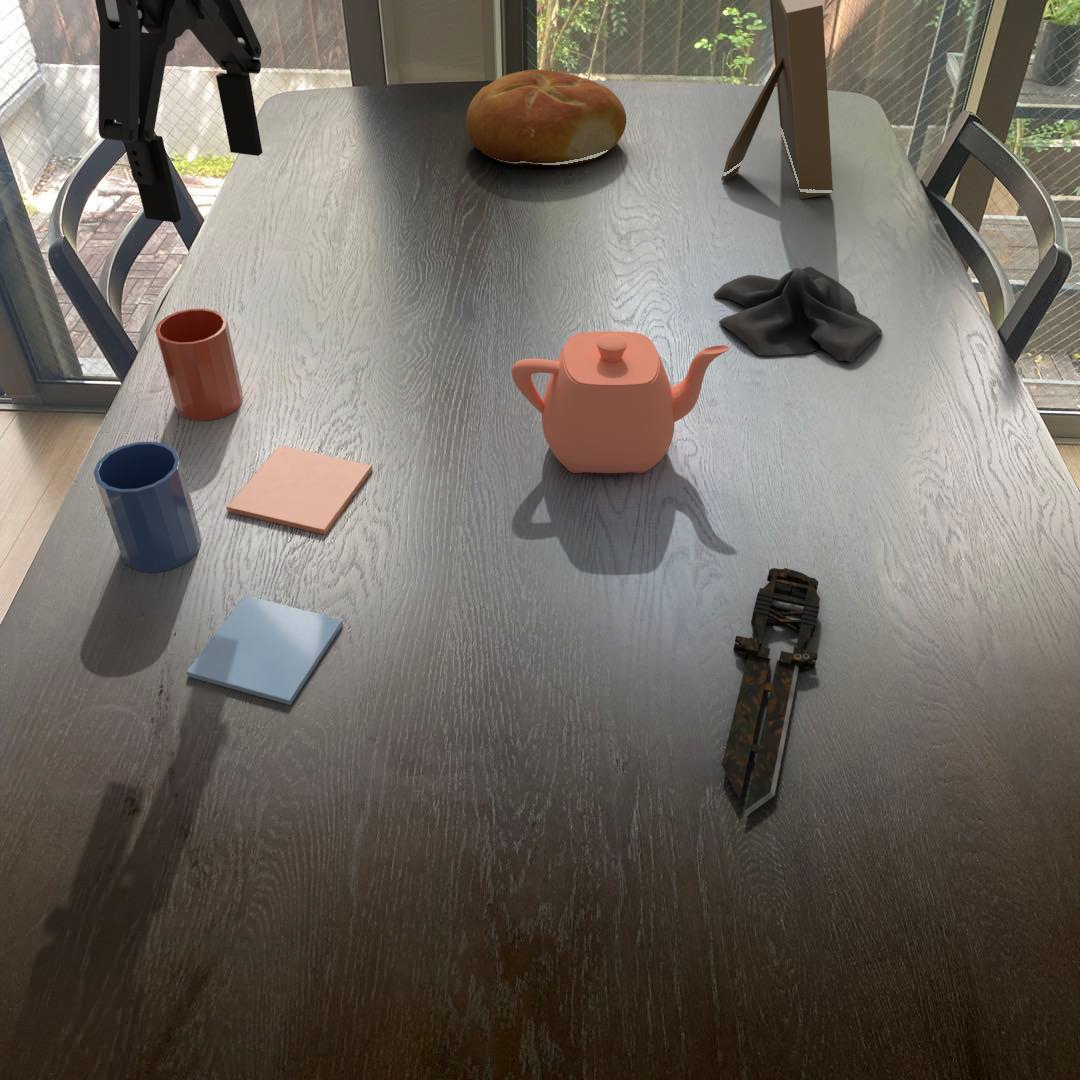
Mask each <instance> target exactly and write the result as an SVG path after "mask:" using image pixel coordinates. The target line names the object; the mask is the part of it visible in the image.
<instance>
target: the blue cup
mask: <svg viewBox="0 0 1080 1080" xmlns="http://www.w3.org/2000/svg"><path fill="white" fill-rule="evenodd" d="M93 476H94V480H95V483H96V485H97V488H98V493H99V494H100V497H101V500H102V503H103V506H104V509H105V512H106V515H107V517H108V521H109V524H110V526H111V529H112V532H113V535H114V538H115V540H116V544H117V547H118V549H119V553H120V555H121V558H122V560H123V562H124V563H125V564H126V565H127V566H128V567H129V568H131V569H133V570H135V571H139V572H143V573H160V572H161V573H162V572H167V571H170V570H174V569H176V568H178V567H180V566H182V565H184V564H186V563H187V562H189V561H190V560H191V559H192V558H193V557H194V556H196V554H197V553H198V551H199V549H200V547H201V544H202V536H201V531H200V527H199V524H198V520H197V516H196V513H195V509H194V506H193V502H192V498H191V494H190V491H189V487H188V484H187V483H188V482H187V480H186V476H185V473H184V469H183V465H182V462H181V458H180V456H179V454H178V451H177V450H176V449H175V448H173V447H172V446H170V445H169V444H166V443H163V442H158V441H153V440H151V441H135V442H132V443H129V444H123V445H120V446H119V447H117V448H114V449H113V450H111V451H109V452H107V453H106V454H105V455H104V456H103V457H102V458H100V459H99V460H98V462H96V465H95V468H94V470H93Z"/></svg>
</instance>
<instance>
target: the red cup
mask: <svg viewBox="0 0 1080 1080" xmlns="http://www.w3.org/2000/svg"><path fill="white" fill-rule="evenodd" d="M154 333H155V336H156V340H157V343H158V347H159V351H160V355H161V358H162V362H163V367H164V370H165V374H166V377H167V380H168V385H169V389H170V392H171V393H170V394H171V396H172V400H173V403H174V404H175V405H174V406H175V410H176V411H177V413H178V414H179V415H180V416H182V417H183V418H186V419H187V420H188V419H189V420H191V421H200V422H203V421H214V420H218V419H221V418H224V417H226V416H229V415H231V414H232V413H234V412H235V411H236V410H238V409H239V408H240V406H241V404H242V403H243V401H244V399H243V398H244V395H243V388H242V383H241V379H240V374H239V369H238V365H237V360H236V356H235V350H234V347H233V342H232V337H231V332H230V328H229V322H228V320H227V318H226V316H225V315H224V314H222V313H221V312H219V311H217V310H214V309H210V308H188V309H184V310H180V311H175V312H173V313H171V314H168V315H167V316H164V317H163V318H162V319H161V320H160V321H159V322H158V323H157V324H156V327H155V330H154Z"/></svg>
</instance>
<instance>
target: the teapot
mask: <svg viewBox="0 0 1080 1080" xmlns="http://www.w3.org/2000/svg"><path fill="white" fill-rule="evenodd" d="M729 350H730V346H728V345H714V346H708V347H706V348H704V349H702V350H700V351H698V353H696V355H695V356H694V357H693V358H692V360H691V362H690V364H689V368H688V370H687V373H686V375H685V377H684V378H683V380H681V381H680V382H679V383H677V384H675V385H673V386H671V382H670V380H669V376H668V373H667V371H666V369H665V366H664V363H663V361H662V359H661V356H660V354H659V351H658V349H657V348H656V346H655V344H654V342H653V341H652V340H651V339H650V338H649V337H648V336H646V335H645V334H643V333H640V332H633V331H621V330H620V331H619V330H618V331H617V330H615V331H614V330H613V331H611V330H610V331H609V330H607V331H605V330H603V331H584V332H577V333H575V334H573V335H572V336H570V337H569V338H568V339H567V341H566V342H565V344H564V345H563V347H562V349H561V351H560V353H559V356H558V357H557V360H554V359H553V360H552V359H543V358H524V359H520V360H518V361H516V362H514V364H513V365H512V368H511V377H512V379H513V382H514V384H515V386H516V387H517V389H518V390H519V392H520V393H521V395H523V397H524V398H525V399H526V400H527V401H528V402H529V403H530V404H531V405H532V406H533V407H534V408H535V409H536V410H537V411H538V412H539V413H540V414H541V427H542V431H543V434H544V435H543V436H544V438H545V440H546V443H547V445H548V446H549V448H550V450H551V451H552V454H554V456H555V458H556V459H557V461H558V462H559V463H561V465H563V466H564V467H565V468H566V470H568V471H569V472H571V473H574V474H582V473H595V474H622V473H623V474H624V473H625V474H626V473H636V474H643V473H646V472H648V471H649V470H650V469H652V468H653V467H655V466H656V465H657V464H658V463H659V462H660V461H661V460H662V459H663V458H664V457H665V455H666V454H667V453H668V450H669V448H670V447H671V443H672V440H673V438H674V433H675V424H676V422H678V421H680V420H681V419H683V418H686V416H687V415H688V414H690V413H691V411H692V410H693V409H694V408H695V406H696V404H697V401H698V400H699V397H700V394H701V390H702V386H703V381H704V378H705V374H706V373H707V370H708V368H709V366H710V364H711V363H712V362H713V361H714V360H715V359H716V358H718V357H719V356H721V355H723V354H724V353H726V352H727V351H729ZM533 374H550V376H549V378H548V381H547V384H546V387H545V391H544V395H543V397H542V396H541V395H540V393H539V392H538V390H537V388H536V386H535V384H534V381H533V379H532V375H533Z"/></svg>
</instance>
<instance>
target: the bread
mask: <svg viewBox="0 0 1080 1080" xmlns="http://www.w3.org/2000/svg"><path fill="white" fill-rule="evenodd" d="M465 119H466V121H465V122H466V129H467V134H468V137H469V139H470V141H471V143H472V144H473V145H474V147H475V148H476V149H477V150H478V151H479V150H480V151H481V152H480V151H479V152H480V153H481V154H483V153H484V154H483V155H484V156H486V157H488V158H490V159H492V160H494V161H497V162H500V163H503V164H507V165H516V166H528V165H529V166H531V165H532V166H543V167H544V166H545V167H564V166H572V165H577V164H583V163H587V162H591V161H593V160H596V159H598V158H600V157H602V156H604V155H605V154H603V155H601V156H598V157H596V158H592V159H588V160H583V161H578V162H573V163H568V164H560V165H542V164H531V163H518V164H512V163H507V162H502V161H499V160H503V161H508V162H520V161H526V162H532V163H556V162H564V161H569V160H574V159H580V158H584V157H587V156H590V155H594V154H597V153H600V152H603V151H606V150H609V149H611V148H612V147H613V148H614V147H615V146H616V145H617V144H618V142H619V141H620V140H621V139H622V136H623V135H624V133H625V130H626V128H627V127H626V126H627V113H626V109H625V107H624V105H623V103H622V102H621V100H620V99H619V97H618V96H617V95H616V94H615V93H614V92H613V91H612V90H611V89H610V88H608V86H605V85H604V84H600V83H598V82H596V81H594V80H590V79H587V78H584V77H581V76H578V75H574V74H571V73H566V72H562V71H556V70H550V69H526V70H522V71H521V70H520V71H517V72H516V71H515V72H512V73H508V74H505V75H503V76H500V77H498V78H496V79H495V80H493V81H492V82H490V83H489V84H487V85H485V86H482V88H481V89H480V90H479V91H478V92H477V93H476V94H475V95H474V96H473V98H472V100H471V101H470V104H469V105H468V109H467V111H466V118H465ZM613 148H612V149H613ZM612 149H611V150H612ZM485 154H486V155H485ZM487 155H488V156H487ZM489 156H490V157H489ZM491 157H493V158H496V159H499V160H496V159H493V158H491Z"/></svg>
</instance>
